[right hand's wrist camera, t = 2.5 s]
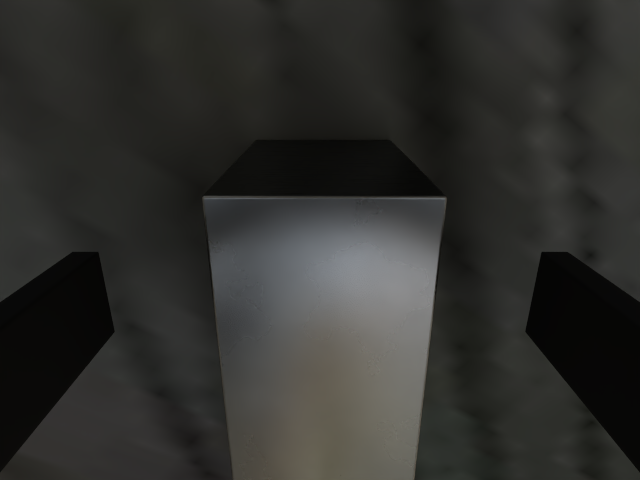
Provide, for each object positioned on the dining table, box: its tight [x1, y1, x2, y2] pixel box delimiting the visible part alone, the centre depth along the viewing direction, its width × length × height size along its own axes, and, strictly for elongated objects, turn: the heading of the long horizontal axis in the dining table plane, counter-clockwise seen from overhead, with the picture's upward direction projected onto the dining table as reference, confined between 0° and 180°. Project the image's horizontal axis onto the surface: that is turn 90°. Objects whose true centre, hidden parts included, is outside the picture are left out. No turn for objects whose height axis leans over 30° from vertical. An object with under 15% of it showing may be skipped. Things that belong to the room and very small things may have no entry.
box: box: [202, 140, 447, 480], centre depth 17 cm, size 20×6×9 cm, turn 0°
